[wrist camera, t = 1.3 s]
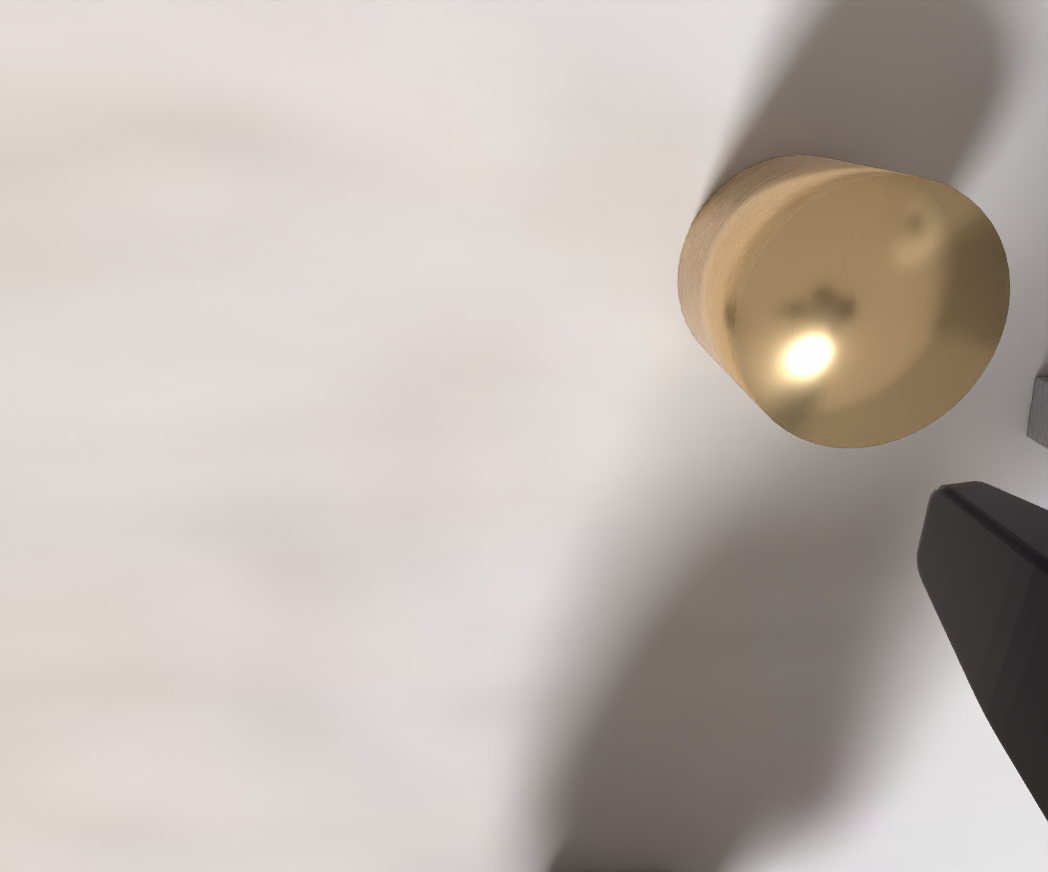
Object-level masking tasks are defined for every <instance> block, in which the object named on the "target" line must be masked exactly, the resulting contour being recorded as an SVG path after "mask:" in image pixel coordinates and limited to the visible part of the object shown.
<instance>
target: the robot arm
mask: <svg viewBox="0 0 1048 872" xmlns="http://www.w3.org/2000/svg"><path fill="white" fill-rule="evenodd" d="M917 566H918V571H919V574H920V577H921V580H922V582H923V584H924V586H925V589H926V591H927V593H928V595H929V597H930V599H931V602H932V604H933V606H934V608H935V610H936V612H937V615H938V617H939V619H940V621H941V623H942V625H943V628H944V630H945V632H946V634H947V636H948V638H949V640H950V643H951V645H952V647H953V649H954V651H955V653H956V656H957V658H958V660H959V662H960V664H961V666H962V669H963V671H964V673H965V675H966V677H967V679H968V682H969V684H970V686H971V688H972V690H973V692H974V694H975V696H976V698H977V700H978V702H979V704H980V706H981V708H982V710H983V712H984V714H985V716H986V718H987V720H988V722H989V723H990V725H991V727H992V729H993V730H994V732H995V734H996V736H997V737H998V739H999V741H1000V743H1001V744H1002V746H1003V748H1004V749H1005V751H1006V753H1007V754H1008V756H1009V758H1010V759H1011V761H1012V763H1013V764H1014V766H1015V768H1016V769H1017V771H1018V773H1019V774H1020V776H1021V778H1022V779H1023V781H1024V783H1025V784H1026V786H1027V788H1028V789H1029V791H1030V793H1031V794H1032V796H1033V798H1034V799H1035V801H1036V803H1037V804H1038V806H1039V808H1040V809H1041V811H1042V813H1043V814H1044V816H1045V818H1046V819H1047V821H1048V510H1046V509H1044V508H1042V507H1039V506H1037V505H1035V504H1032V503H1030V502H1028V501H1025V500H1023V499H1021V498H1019V497H1016V496H1014V495H1012V494H1009V493H1007V492H1005V491H1002V490H1000V489H998V488H995V487H993V486H991V485H989V484H986V483H983V482H977V481H973V482H964V483H956V484H948V485H942V486H940V487H938V488H936V489H935V490H934V491H933V493H932V494H931V496H930V499H929V502H928V506H927V511H926V515H925V520H924V524H923V528H922V533H921V537H920V541H919V546H918V551H917Z"/></svg>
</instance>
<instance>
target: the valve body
mask: <svg viewBox="0 0 1048 872" xmlns="http://www.w3.org/2000/svg"><path fill="white" fill-rule="evenodd" d="M1027 436H1028V437H1029V438H1031V439H1033V440H1034V441H1036V442H1038V443H1039V444H1041V445H1043V446H1044V447H1046V448H1047V449H1048V376H1045V377H1036V379H1035V386H1034V392H1033V399H1032V406H1031V412H1030V419H1029V425H1028V432H1027Z"/></svg>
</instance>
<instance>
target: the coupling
mask: <svg viewBox="0 0 1048 872" xmlns="http://www.w3.org/2000/svg"><path fill="white" fill-rule="evenodd" d="M677 283H678V295H679V301H680V305H681V310H682V313H683V315H684V318H685V321H686V323H687V325H688V327H689V329H690V331H691V333H692V334H693V336H694V337H695V339H696V340H697V341H698V343H699V344H700V345H701V346H702V347H703V349H704V350H705V351H706V352H707V353H708V354H709V355H710V356H711V357H712V358H713V359H714V360H715V361H716V362H717V363H718V364H719V365H720V366H721V367H722V368H723V369H724V370H725V371H726V372H727V373H728V374H729V376H730V377H731V378H732V379H733V380H734V381H735V382H736V383H737V384H738V385H739V386H740V387H741V388H742V389H743V390H744V391H745V392H746V393H747V394H748V395H749V396H750V397H751V398H752V399H753V400H754V401H755V403H756V404H757V405H758V406H759V407H760V408H761V409H762V410H763V411H764V412H765V413H766V414H767V415H768V416H769V417H770V418H771V419H772V420H773V421H774V422H775V423H777V424H778V425H780V426H781V427H782V428H784V429H785V430H786V431H788V432H790V433H792V434H794V435H796V436H797V437H799V438H801V439H804V440H807V441H810V442H813V443H815V444H820V445H825V446H829V447H839V448H861V447H869V446H875V445H881V444H885V443H888V442H891V441H895V440H898V439H900V438H903V437H905V436H908V435H910V434H912V433H915V432H916V431H918V430H920V429H922V428H924V427H925V426H927V425H929V424H931V423H932V422H934V421H935V420H936V419H938V418H939V417H941V416H942V415H944V414H945V413H946V412H947V411H948V410H950V409H951V408H952V407H953V406H954V405H955V404H956V403H958V402H959V401H960V400H961V399H962V398H963V396H964V395H965V394H966V393H967V392H968V391H969V390H970V389H971V388H972V387H973V385H974V384H975V383H976V381H977V380H978V379H979V377H980V376H981V375H982V373H983V372H984V370H985V368H986V367H987V365H988V363H989V362H990V360H991V358H992V356H993V354H994V352H995V350H996V348H997V345H998V343H999V341H1000V338H1001V335H1002V332H1003V329H1004V326H1005V323H1006V318H1007V312H1008V307H1009V296H1010V279H1009V268H1008V263H1007V258H1006V254H1005V251H1004V248H1003V245H1002V243H1001V240H1000V237H999V235H998V234H997V232H996V230H995V228H994V226H993V225H992V223H991V221H990V220H989V219H988V218H987V216H986V215H985V214H984V213H983V211H982V210H981V209H980V208H979V207H978V206H977V205H976V204H975V203H973V202H972V201H971V200H970V199H969V198H968V197H966V196H965V195H963V194H962V193H960V192H959V191H957V190H956V189H954V188H952V187H950V186H947V185H945V184H943V183H941V182H938V181H935V180H931V179H927V178H924V177H920V176H915V175H910V174H905V173H900V172H895V171H890V170H885V169H880V168H875V167H870V166H865V165H860V164H855V163H850V162H845V161H840V160H835V159H830V158H825V157H820V156H812V155H789V156H783V157H777V158H773V159H770V160H767V161H763V162H760V163H758V164H756V165H754V166H752V167H749V168H747V169H745V170H744V171H742V172H741V173H739V174H737V175H736V176H734V177H733V178H731V179H730V180H729V181H728V182H726V183H725V184H724V185H723V186H721V187H720V188H719V189H718V190H717V191H716V192H715V193H714V194H713V195H712V196H711V197H710V198H709V200H708V201H707V202H706V204H705V205H704V206H703V207H702V209H701V210H700V211H699V213H698V215H697V216H696V218H695V220H694V221H693V223H692V225H691V227H690V229H689V232H688V234H687V236H686V238H685V241H684V245H683V248H682V251H681V255H680V261H679V266H678V282H677Z"/></svg>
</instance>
